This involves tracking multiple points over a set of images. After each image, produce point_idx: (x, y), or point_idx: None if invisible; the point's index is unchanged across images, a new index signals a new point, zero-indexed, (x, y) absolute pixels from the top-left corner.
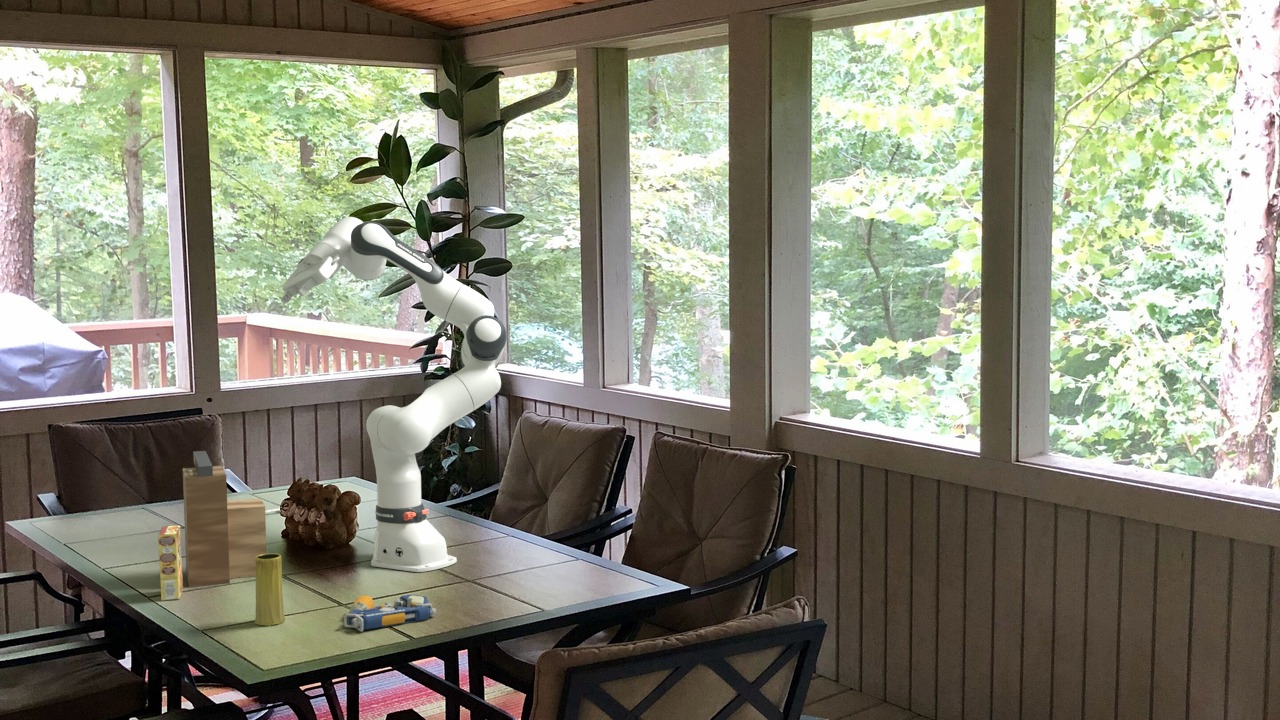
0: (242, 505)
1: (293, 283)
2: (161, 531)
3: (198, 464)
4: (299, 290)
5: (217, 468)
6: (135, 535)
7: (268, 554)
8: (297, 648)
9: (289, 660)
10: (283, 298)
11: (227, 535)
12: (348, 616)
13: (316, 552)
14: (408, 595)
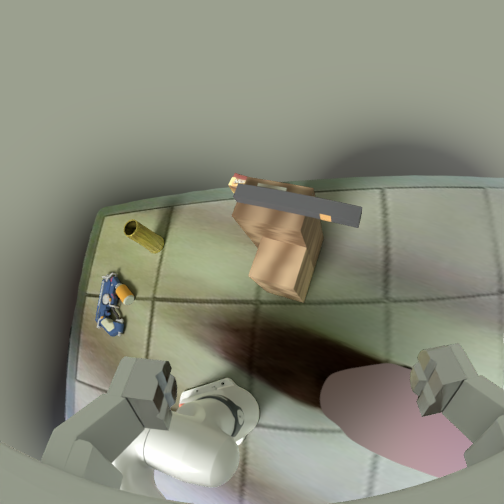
0: (269, 257)
1: (446, 476)
2: (244, 176)
3: (253, 186)
4: (133, 359)
5: (282, 220)
6: (491, 243)
7: (135, 230)
8: (113, 239)
9: (104, 230)
10: (425, 353)
11: (252, 241)
12: (114, 276)
13: (316, 367)
14: (117, 327)
